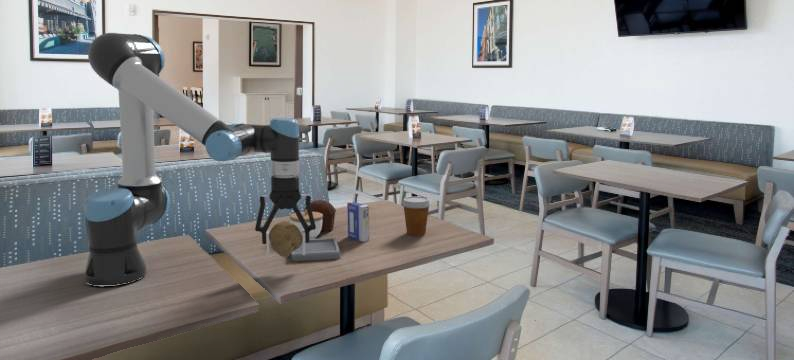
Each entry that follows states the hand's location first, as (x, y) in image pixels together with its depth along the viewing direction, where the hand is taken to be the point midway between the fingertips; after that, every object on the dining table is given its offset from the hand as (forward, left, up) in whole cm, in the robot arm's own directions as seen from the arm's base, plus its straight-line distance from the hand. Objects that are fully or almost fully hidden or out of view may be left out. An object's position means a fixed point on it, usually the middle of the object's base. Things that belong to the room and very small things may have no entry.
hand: (286, 254), depth 164 cm
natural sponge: (0, 0, -1) cm, 1 cm away
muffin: (+12, +39, -5) cm, 41 cm away
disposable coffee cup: (+44, +28, -5) cm, 52 cm away
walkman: (+24, +26, -5) cm, 35 cm away
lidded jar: (+7, +30, -5) cm, 31 cm away
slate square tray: (+9, +14, -5) cm, 17 cm away
